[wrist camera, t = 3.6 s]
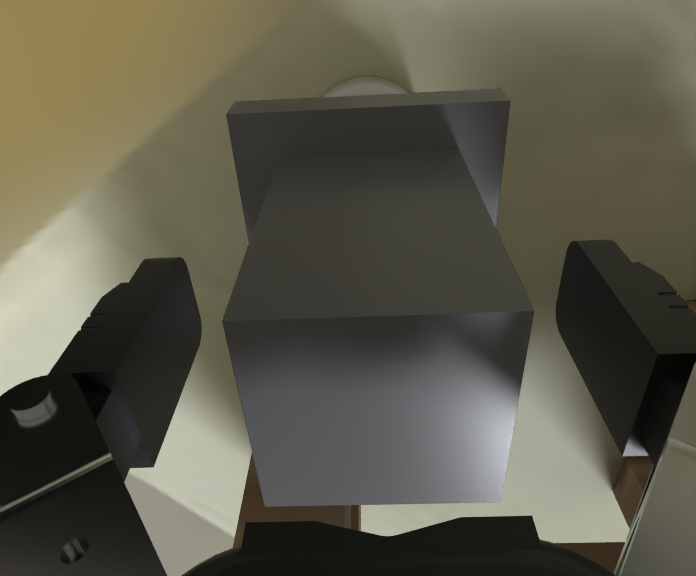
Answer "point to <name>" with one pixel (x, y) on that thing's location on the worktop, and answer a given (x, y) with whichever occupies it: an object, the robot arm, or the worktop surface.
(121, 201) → the worktop surface
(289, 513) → the shelf
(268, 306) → the keyhole peg
